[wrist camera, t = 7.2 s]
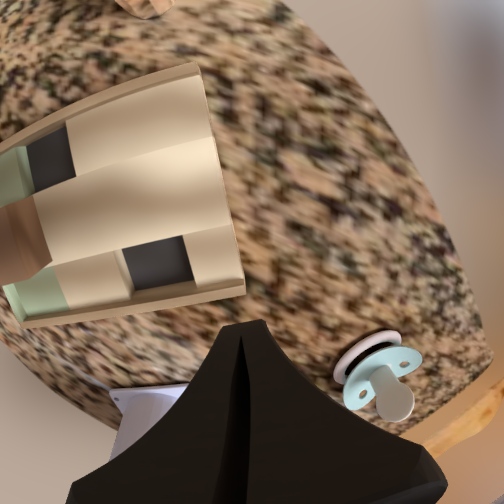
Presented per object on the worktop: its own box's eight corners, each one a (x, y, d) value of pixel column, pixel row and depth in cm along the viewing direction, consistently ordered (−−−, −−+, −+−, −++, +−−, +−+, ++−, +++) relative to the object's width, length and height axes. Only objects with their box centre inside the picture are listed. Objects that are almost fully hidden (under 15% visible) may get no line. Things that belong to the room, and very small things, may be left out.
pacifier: (316, 365, 23) (350, 399, 24) (334, 422, 17) (370, 450, 18) (390, 310, 21) (416, 352, 23) (429, 357, 15) (449, 396, 17)
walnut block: (52, 260, 17) (28, 279, 14) (12, 272, 17) (-11, 289, 14) (32, 195, 15) (4, 205, 12) (-7, 214, 15) (-33, 225, 12)
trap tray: (244, 277, 19) (246, 294, 17) (35, 314, 20) (22, 329, 17) (200, 71, 15) (195, 61, 13) (-14, 161, 15) (-33, 165, 13)
